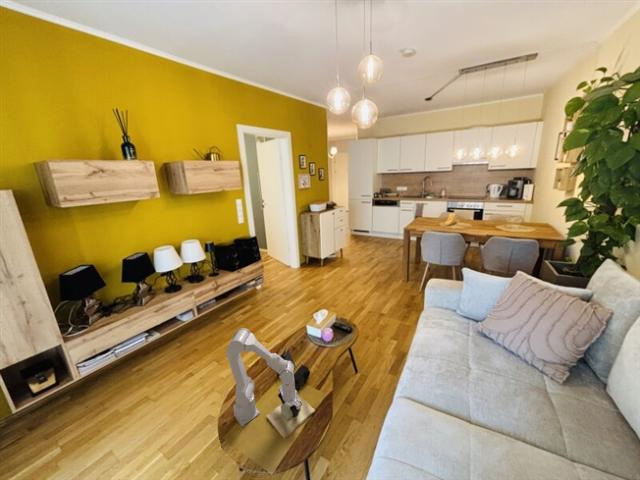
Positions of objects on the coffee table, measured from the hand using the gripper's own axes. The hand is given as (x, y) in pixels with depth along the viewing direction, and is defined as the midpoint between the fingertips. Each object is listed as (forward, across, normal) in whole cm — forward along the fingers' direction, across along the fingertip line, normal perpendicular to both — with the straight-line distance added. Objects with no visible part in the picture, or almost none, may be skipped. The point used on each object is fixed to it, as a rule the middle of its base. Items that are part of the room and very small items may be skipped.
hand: (290, 410), depth 122 cm
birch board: (+2, 0, 0) cm, 2 cm away
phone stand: (+3, +25, -16) cm, 30 cm away
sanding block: (+1, 0, 0) cm, 1 cm away
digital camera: (+3, +11, -16) cm, 19 cm away
